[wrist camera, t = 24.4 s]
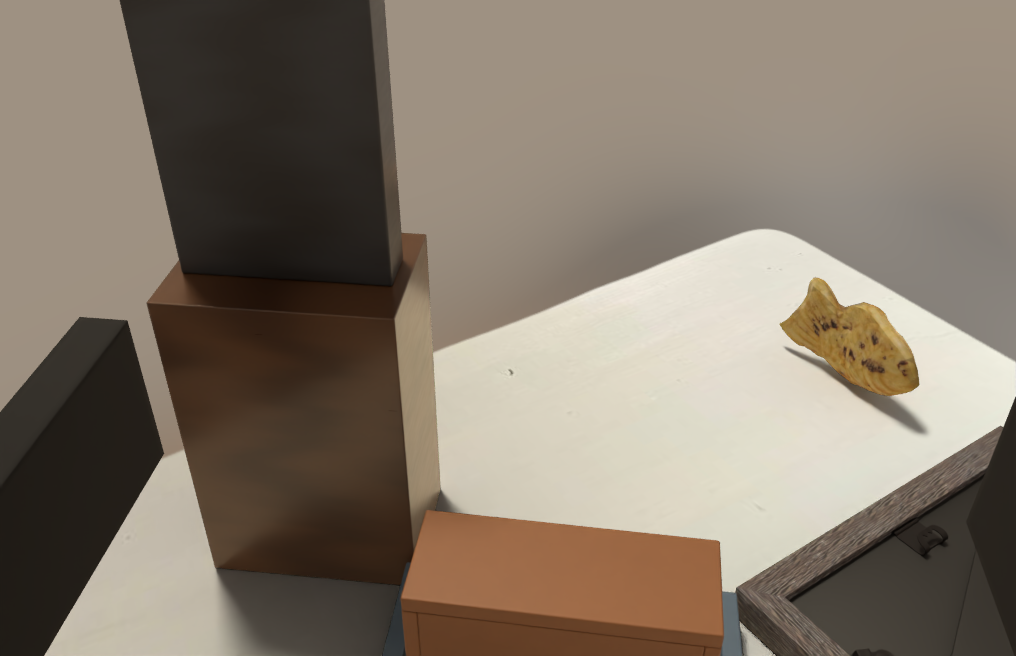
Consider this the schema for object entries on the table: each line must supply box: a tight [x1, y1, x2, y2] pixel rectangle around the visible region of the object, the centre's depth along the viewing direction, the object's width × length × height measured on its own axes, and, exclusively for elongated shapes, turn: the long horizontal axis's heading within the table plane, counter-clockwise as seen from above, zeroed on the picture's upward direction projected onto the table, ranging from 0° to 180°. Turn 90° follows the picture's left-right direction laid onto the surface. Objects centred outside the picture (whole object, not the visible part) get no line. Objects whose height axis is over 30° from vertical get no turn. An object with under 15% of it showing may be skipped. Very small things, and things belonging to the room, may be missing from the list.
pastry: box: [780, 278, 919, 396], centre depth 52 cm, size 9×2×5 cm, turn 36°
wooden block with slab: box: [120, 0, 441, 585], centre depth 37 cm, size 9×6×26 cm, turn 83°
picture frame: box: [735, 426, 1014, 656], centre depth 39 cm, size 13×2×18 cm
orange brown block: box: [400, 510, 724, 656], centre depth 33 cm, size 10×4×9 cm, turn 82°
